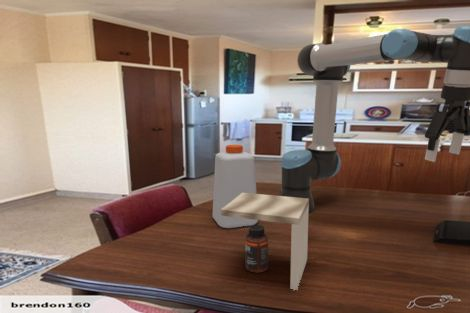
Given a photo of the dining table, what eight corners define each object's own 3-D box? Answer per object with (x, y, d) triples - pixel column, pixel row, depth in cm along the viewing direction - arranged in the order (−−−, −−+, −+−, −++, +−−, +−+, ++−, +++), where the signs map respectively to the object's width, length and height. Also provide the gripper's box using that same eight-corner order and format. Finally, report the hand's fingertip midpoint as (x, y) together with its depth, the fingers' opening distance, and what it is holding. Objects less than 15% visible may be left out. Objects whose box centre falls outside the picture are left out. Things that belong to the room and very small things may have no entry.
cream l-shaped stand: (222, 276, 82) (220, 209, 79) (242, 249, 96) (242, 192, 94) (297, 290, 75) (298, 218, 72) (307, 259, 90) (308, 198, 87)
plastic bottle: (210, 216, 125) (208, 144, 121) (247, 212, 130) (246, 142, 125) (220, 230, 111) (219, 149, 106) (261, 225, 116) (262, 147, 111)
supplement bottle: (270, 264, 88) (270, 224, 86) (265, 275, 82) (265, 233, 80) (249, 261, 90) (249, 221, 88) (242, 271, 84) (242, 230, 82)
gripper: (449, 89, 82) (431, 167, 89) (494, 84, 95) (476, 153, 102) (420, 86, 88) (406, 160, 95) (466, 81, 101) (450, 147, 108)
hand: (442, 156), depth 98 cm, fingers open, 13 cm apart
